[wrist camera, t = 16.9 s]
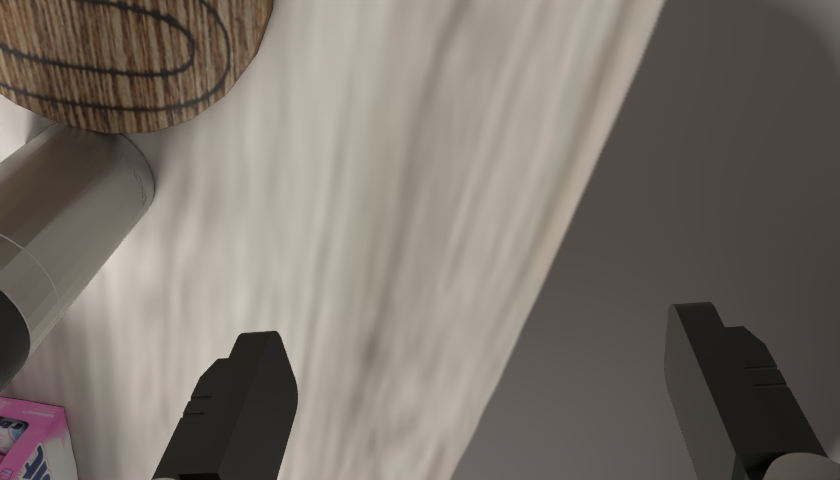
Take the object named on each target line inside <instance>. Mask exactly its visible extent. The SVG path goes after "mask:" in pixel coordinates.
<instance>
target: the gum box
mask: <svg viewBox="0 0 840 480" xmlns="http://www.w3.org/2000/svg"><path fill="white" fill-rule="evenodd" d="M0 480H78V475H77V468H76V462H75V458H74V456H73V451H72V445H71V438H70V434H69V430H68V426H67V422H66V417H65V412H64V408H63V407H57V406H51V405H45V404H40V403H36V402H30V401H24V400H18V399H10V398H4V397H0Z"/></svg>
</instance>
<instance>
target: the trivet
mask: <svg viewBox="0 0 840 480" xmlns="http://www.w3.org/2000/svg"><path fill="white" fill-rule="evenodd" d="M272 10H273V0H0V94H2V95H3V96H5V97H6V98H8V99H9V100H10V101H12V102H13V103H15V104H17V105H19V106H21V107H24V108H26V109H28V110H31V111H33V112H35V113H38V114H40V115H42V116H44V117H47V118H49V119H51V120H54V121H56V122H58V123H61V124H64V125H69V126H73V127H78V128H83V129H88V130H93V131H98V132H103V133H107V134H111V133H140V132H153V131H157V130H160V129H163V128H166V127H169V126H172V125H175V124H178V123H182V122H185V121H188V120H191V119H192V118H194V117H195V116H197V115H198V114H200V113H201V112H202V111H204V110H205V109H207V108H208V107H210V106H211V105H212V104H214V103H215V102H217V101H218V100H219V99H221V98H222V97H224V96H225V95H226V94H227V93H228V91H229V90H230V89H231V88H232V87H233V85H234V84H235V83H236V81H237V80H238V79H239V77H240V76H241V75H242V73H243V72H244V71H245V69H246V68H247V67H248V65H249V64H250V62H251V61H252V60H253V58H254V57H255V56H256V54H257V52H258V50H259V47H260V44H261V41H262V38H263V35H264V33H265V30H266V27H267V24H268V21H269V19H270V16H271V13H272Z"/></svg>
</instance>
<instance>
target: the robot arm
mask: <svg viewBox="0 0 840 480" xmlns="http://www.w3.org/2000/svg"><path fill="white" fill-rule="evenodd" d="M153 195H154V180H153V177H152V174H151V170H150V168H149V166H148V164H147V162H146V160H145V159H144V157H143V156H142V155H141V153H140V152H139V151H138V149H137V148H136V147H135V146H134V145H133V144H132V143H131V142H129V141H128V140H127V139H126V138H125V137H123V136H122V135H120V134H119V133H111V134H107V133H103V132H98V131H93V130H88V129H83V128H78V127H73V126H69V125H64V124H61V123H56V124H53V125H51V126H50V127H49V128H47V129H46V130H45V131H43V132H42V133H41V134H39V135H38V136H37V137H35V138H34V139H32V140H31V141H30V142H28V143H27V144H26V145H23V146H22V147H21V148H19V149H18V150H17V151H15V152H14V153H13V154H11V155H10V156H9V157H7V158H6V159H5V160H3V161H2V162H1V163H0V392H1V391H2V390H3V389H4V388H5V386H6V385H7V384H8V383H9V382H10V381H11V380H12V378H13V377H14V376H15V375H16V373H17V372H18V371H19V370H20V368H21V367H22V366H23V365H24V363H25V362H26V361H27V360H28V358H29V357H30V356H31V355H32V353H33V352H34V351H35V350H36V348H37V347H38V346H39V345H40V343H41V342H42V341H43V340H44V338H45V337H46V336H47V335H48V334H49V332H50V331H51V329H52V328H53V327H54V326H55V324H56V323H57V322H58V321H59V319H60V318H61V317H62V316H63V315H64V313H65V312H66V311H67V310H68V308H69V307H70V306H71V305H72V303H73V302H74V301H75V300H76V298H77V297H78V296H79V295H80V293H81V292H82V291H83V290H84V288H85V287H86V286H87V285H88V283H89V282H90V281H91V280H92V278H93V277H94V276H95V275H96V273H97V272H98V271H99V270H100V269H101V267H102V266H103V265H104V264H105V262H106V261H107V260H108V259H109V257H110V256H111V255H112V254H113V252H114V251H115V250H116V249H117V247H118V246H119V245H120V244H121V242H122V241H123V240H124V239H125V238H126V236H127V235H128V234H129V233H130V231H131V230H132V229H133V228H134V226H135V225H136V224H137V223H138V221H139V220H140V219H141V218H142V217H143V215H144V214H145V213H146V212H147V210H148V209H149V207H150V205H151V203H152V200H153ZM664 372H665V379H666V385H667V390H668V393H669V396H670V399H671V402H672V405H673V408H674V410H675V414H676V417H677V420H678V422H679V425H680V428H681V431H682V434H683V437H684V440H685V443H686V446H687V449H688V451H689V455H690V457H691V460H692V463H693V466H694V469H695V472H696V475H697V478H698V480H840V464H839V463H837V462H835V461H833V460H831V459H829V458H828V457H827V455H826V453H825V452H824V450H823V448H822V446H821V444H820V443H819V441H818V439H817V438H816V435H815V434H814V432H813V430H812V428H811V426H810V425H809V423H808V421H807V419H806V417H805V416H804V414H803V412H802V410H801V408H800V407H799V405H798V403H797V401H796V399H795V398H794V396H793V394H792V392H791V390H790V389H789V388H787V385H786V381H785V379H784V378H783V376H782V374H781V372H780V371H779V370H777V365H776V363H775V361H774V360H773V358H772V356H771V354H770V352H769V351H768V349H767V347H766V345H765V344H764V343H763V342H762V341H760V340H759V339H758V338H757V337H756V336H754V335H753V334H752V333H751V332H750V331H748V330H747V329H746V328H745V327H743V326H739V327H724V325H723V323H722V321H721V319H720V317H719V315H718V313H717V311H716V309H715V307H714V305H713V304H712V303H711V302H699V303H685V304H672V305H670V306H669V310H668V319H667V331H666V344H665V356H664ZM297 404H298V390H297V384H296V380H295V377H294V374H293V371H292V368H291V365H290V362H289V360H288V357H287V354H286V351H285V348H284V345H283V342H282V339H281V337H280V335H279V333H278V332H277V331H265V332H251V333H241V334H240V335H239V336H238V338H237V340H236V342H235V344H234V347H233V349H232V351H231V353H230V356H229V358H223V359H217V360H216V361H215V362H214V363H213V364H212V365H211V366H210V367H209V368H208V370H207V371H206V372H205V373H204V374H203V375H202V376H201V377H200V379H199V381H198V383H197V385H196V387H195V389H194V391H193V393H192V395H191V401H189V402H188V404H187V406H186V408H185V410H184V412H183V418H181V419H180V421H179V423H178V425H177V427H176V429H175V431H174V433H173V435H172V438H171V440H170V442H169V444H168V446H167V448H166V450H165V452H164V454H163V457H162V459H161V461H160V463H159V465H158V467H157V469H156V471H155V473H154V476H153V478H152V479H151V480H277V477H278V473H279V470H280V466H281V463H282V459H283V456H284V452H285V449H286V445H287V442H288V438H289V435H290V431H291V428H292V425H293V421H294V418H295V414H296V410H297Z"/></svg>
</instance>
